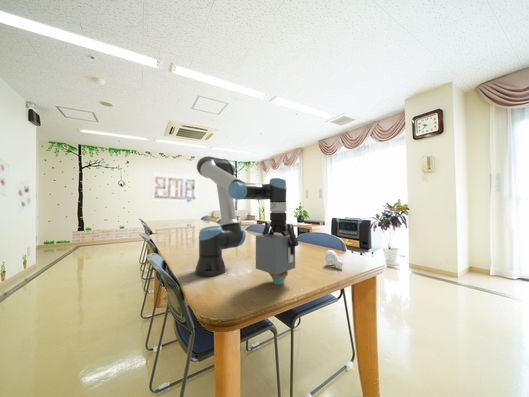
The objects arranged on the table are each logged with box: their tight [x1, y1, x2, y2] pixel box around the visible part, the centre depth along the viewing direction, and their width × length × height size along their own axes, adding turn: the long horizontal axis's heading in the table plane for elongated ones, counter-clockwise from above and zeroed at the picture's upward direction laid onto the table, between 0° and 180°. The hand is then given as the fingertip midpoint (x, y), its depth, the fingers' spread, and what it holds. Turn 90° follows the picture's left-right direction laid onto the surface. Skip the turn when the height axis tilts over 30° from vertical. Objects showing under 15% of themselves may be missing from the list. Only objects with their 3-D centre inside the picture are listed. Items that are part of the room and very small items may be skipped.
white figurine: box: [324, 249, 344, 270], centre depth 115 cm, size 6×8×12 cm
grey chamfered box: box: [255, 232, 296, 275], centre depth 91 cm, size 12×13×15 cm
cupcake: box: [268, 270, 289, 286], centre depth 92 cm, size 9×8×12 cm
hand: (278, 259), depth 92 cm, fingers closed on grey chamfered box, 12 cm apart
